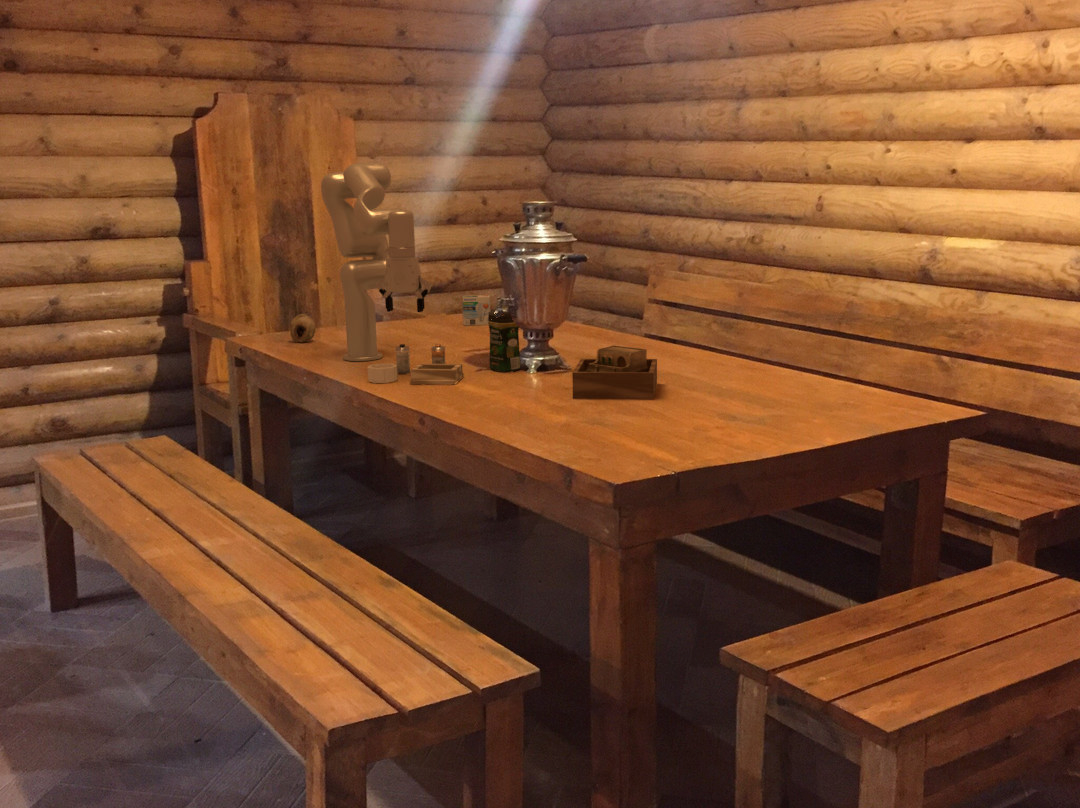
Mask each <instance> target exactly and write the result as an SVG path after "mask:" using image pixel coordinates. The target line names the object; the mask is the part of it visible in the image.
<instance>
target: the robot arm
mask: <svg viewBox="0 0 1080 808" xmlns="http://www.w3.org/2000/svg"><path fill="white" fill-rule="evenodd" d="M391 183H392V174H391V172H390V170H389V168H388V166H387V165H385V164H384V163H382V162H357V163H356V162H355V163H351V164H349V165H347V167H345V169H344V171H336V172H331V173H328V174H325V176H324V177H323V178H322V180H321V183H320V191H321V197H322V201H323V203H324V205H325V207H326V210H327V211H328V214H329V216H330V219H331V221H332V225H333V231H334V234H335V239H336V244H337V247H338V252H339V253H340V255H341V256H342V257H343V258H346V259H355V258H368V259H355V260H349V261H347V262H344V263H343V264H342V265H341V267H340V269H339V278H340V283H341V288H342V292H343V299H344V300H343V301H344V302H343V303H344V312H345V313H344V314H345V315H344V316H345V330H346V331H345V333H346V345H347V346H346V347H347V348H346V349H347V353H345V354H343V356H342V359H343V360H345V361H349V362H368V361H369V362H370V361H375V360H379V359H382V358H383V353H382V352H379V351H378V341H377V340H378V339H377V338H378V337H377V324H376V323H377V322H376V321H377V320H376V306H375V305H376V304H375V301H374V300H373V298H372V296H371V295H370V294H369V293H368V292H367V291H368V290H378V292H379V293H380V295H382V296H383V298H384V300H385V302H384V303H385V309H386V311H387V313H389V312H393V311H394V298H393V297H392V295H393V294H394V293H395V294H396V293H397V294H398V293H400V294H401V293H402V294H403V293H405V294H407V293H408V294H409V293H411V294H412V293H414V294H415V295H416V297H417V298H416V311H417V313H423V311H424V310H425V298H426V297H427V295H428V294H429V293H430V291H431V288H432V286H433V282H430V281H428V280H427V279H425V278H423V277H422V273H421V267H420V263H419V258H418V257H416V243H415V241H416V239H415V222H414V221H415V219H414V218H415V217H414V213H413V212H412V211H411V210H406V209H402V208H381V209H380V208H379V209H376V208H378V207H380V206H381V205H382V203H383V201H384V200H385V198H386V197H385V196H386V194H385V193H386V192H385V191H386V190H388V188H389V187H390V185H391ZM346 199H349V200H350V199H356V200H355V203H354V206H352V205H351V204H350V203H349V202H348V201H346ZM387 236H388V239H387ZM369 257H370V258H372V259H369ZM422 285H423V286H425V287H424V290H422V287H423V286H422Z"/></svg>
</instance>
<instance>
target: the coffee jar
mask: <svg viewBox="0 0 1080 808" xmlns="http://www.w3.org/2000/svg"><path fill="white" fill-rule="evenodd" d="M496 309H497V308H493V309H492V308H491V309H490V312H489V314H488V324H489V325H488V329H489V358H488V359H489V363H488V365H489V368H490V370H493V371H496V372H500V371H503V372H502V373H505V371H509V372H510V371H514V372H516V371H518V370H520V369H521V368H520V364H521V355H520V352H521V351H520V342H519V341H520V340H519V338H520V337H519V327H520V325H519V326H517V325H516V324H515V322H514V321H513V320H512V317H511V315H510V314H509V313H506V314H504V315H503V316H501V317H498V318H496V317H495V314H496V313H495V314H494V312H495V310H496ZM491 319H492V320H491ZM515 370H516V371H515Z"/></svg>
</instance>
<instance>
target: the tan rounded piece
mask: <svg viewBox="0 0 1080 808" xmlns="http://www.w3.org/2000/svg"><path fill="white" fill-rule="evenodd" d="M290 324H291V325H290V328H289V331H290V336H291V340H292V341H294V342H296V343H302V344H303V343H309V342H311V340H312V339H313V338H314V337H315V334H316V328H317V327H316V323H315V322H314V320H313V319H312V316H310V315H307V314H306V313H301V314H298V315H296V316H295V317H293V319H292V320H291V322H290Z"/></svg>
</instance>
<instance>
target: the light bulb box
mask: <svg viewBox="0 0 1080 808" xmlns="http://www.w3.org/2000/svg"><path fill="white" fill-rule="evenodd" d="M490 311H491V296H490V294H479V295H478V294H475V295H472V294H471V295H462V325H463V326H464V325H465V326H489V324H488V314H489V312H490Z"/></svg>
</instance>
